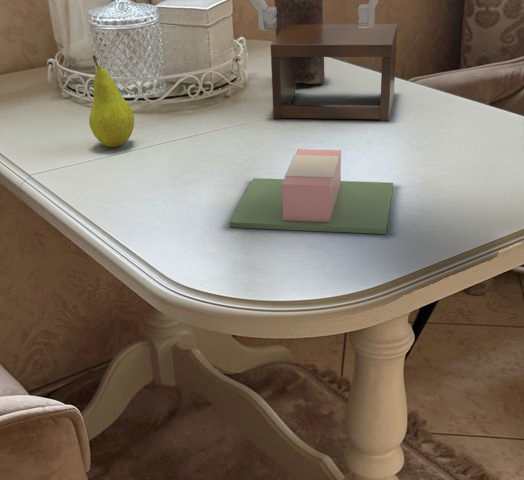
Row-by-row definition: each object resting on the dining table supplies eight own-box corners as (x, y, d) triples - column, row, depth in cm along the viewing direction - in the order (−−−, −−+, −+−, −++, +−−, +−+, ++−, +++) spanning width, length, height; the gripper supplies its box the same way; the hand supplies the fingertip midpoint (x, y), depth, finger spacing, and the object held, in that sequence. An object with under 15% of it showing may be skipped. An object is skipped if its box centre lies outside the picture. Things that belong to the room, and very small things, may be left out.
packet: (341, 184, 89) (341, 149, 86) (330, 222, 80) (330, 184, 78) (297, 183, 89) (297, 148, 87) (282, 220, 81) (281, 183, 79)
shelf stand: (394, 95, 117) (397, 23, 112) (388, 121, 108) (391, 44, 102) (287, 93, 120) (285, 24, 115) (273, 119, 111) (270, 44, 105)
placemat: (392, 187, 89) (393, 182, 88) (385, 234, 79) (385, 228, 79) (253, 182, 92) (253, 178, 91) (230, 227, 82) (229, 222, 82)
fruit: (133, 135, 107) (120, 43, 101) (140, 149, 103) (127, 54, 96) (91, 141, 106) (75, 48, 100) (96, 156, 102) (80, 59, 95)
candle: (290, 92, 121) (286, -53, 110) (268, 81, 126) (262, -58, 115) (333, 83, 124) (333, -59, 112) (309, 73, 129) (307, -64, 118)
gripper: (185, -133, 67) (203, 37, 75) (431, -150, 63) (423, 33, 71) (204, -138, 72) (219, 22, 80) (433, -153, 68) (425, 17, 76)
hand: (316, 27), depth 75 cm, fingers open, 8 cm apart
